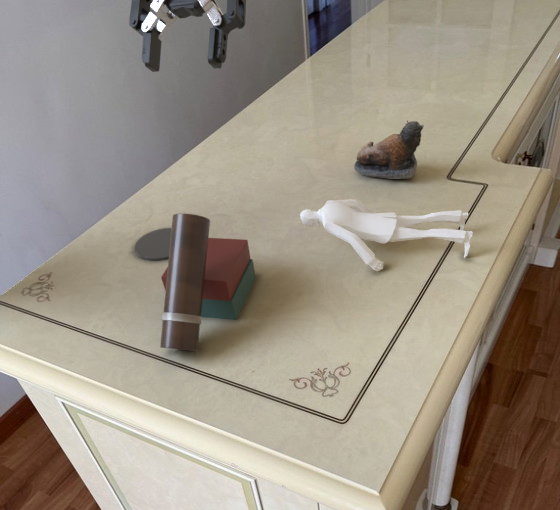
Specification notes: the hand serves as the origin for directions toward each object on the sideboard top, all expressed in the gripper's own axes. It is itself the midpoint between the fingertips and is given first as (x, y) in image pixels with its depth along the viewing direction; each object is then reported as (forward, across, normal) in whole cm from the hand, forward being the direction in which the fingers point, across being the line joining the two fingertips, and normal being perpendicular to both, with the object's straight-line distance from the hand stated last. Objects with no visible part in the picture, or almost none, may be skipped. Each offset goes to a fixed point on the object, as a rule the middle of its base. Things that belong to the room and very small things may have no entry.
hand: (182, 67), depth 69 cm
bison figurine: (+1, +16, +46) cm, 49 cm away
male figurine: (+16, +20, +29) cm, 39 cm away
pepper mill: (+31, 0, +9) cm, 32 cm away
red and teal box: (+26, -1, +15) cm, 30 cm away
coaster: (+19, -15, +22) cm, 33 cm away
